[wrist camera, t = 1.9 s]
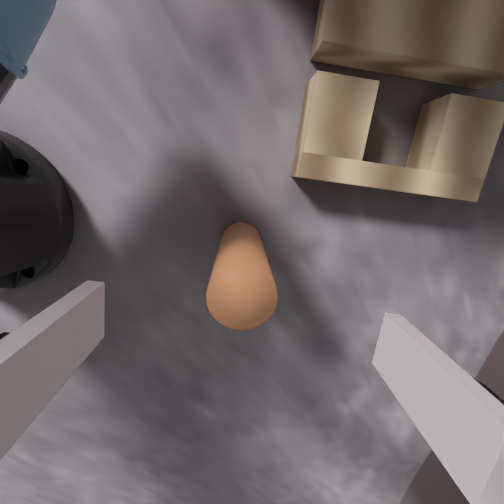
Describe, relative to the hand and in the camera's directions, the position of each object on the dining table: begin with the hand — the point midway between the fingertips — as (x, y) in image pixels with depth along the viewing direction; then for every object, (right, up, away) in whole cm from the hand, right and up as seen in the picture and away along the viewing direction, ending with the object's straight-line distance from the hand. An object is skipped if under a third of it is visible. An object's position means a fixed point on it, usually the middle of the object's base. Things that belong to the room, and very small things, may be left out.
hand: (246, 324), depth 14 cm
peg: (-1, +4, +16) cm, 17 cm away
